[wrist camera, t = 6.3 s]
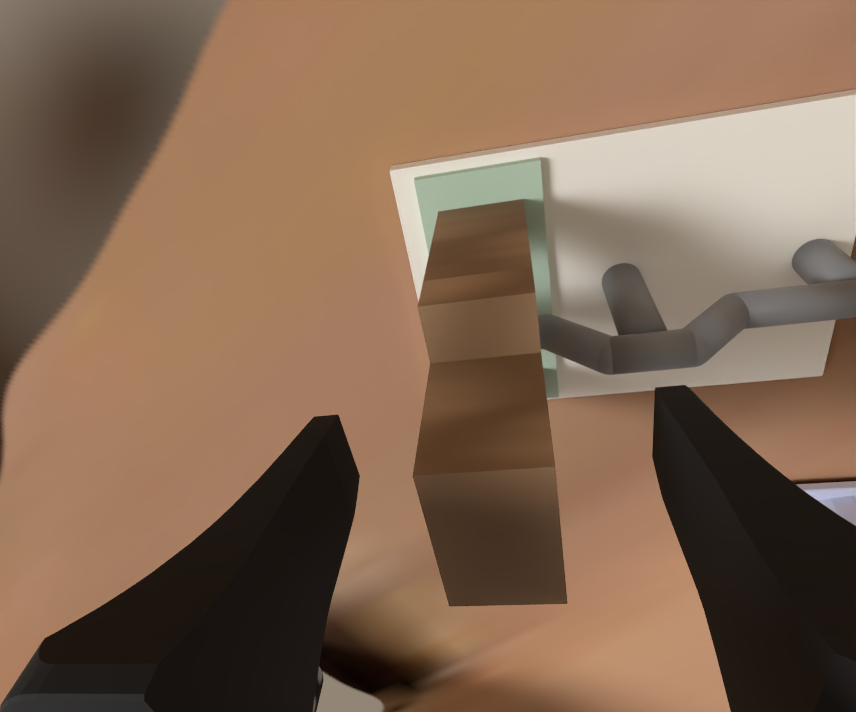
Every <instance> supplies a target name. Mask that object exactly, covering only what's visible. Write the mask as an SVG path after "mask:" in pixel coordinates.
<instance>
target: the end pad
mask: <svg viewBox="0 0 856 712" xmlns="http://www.w3.org/2000/svg"><path fill="white" fill-rule="evenodd" d="M414 184H415V189H416V194H417V199H418V204H419V209H420V214H421V219H422V224H423V229H424V234H425V239H426V244H427V249H428V254H429V252H430V247H431V243H432V238H433V234H434V229H435V224H436V220H437V215H438V211H445V210H451V209H458V208H465V207H472V206H478V205H485V204H492V203H499V202H505V201H512V200H519V199H524V206H525V214H526V222H527V230H528V238H529V245H530V253H531V261H532V269H533V277H534V285H535V292H536V303H537V314H538V315H539V314H552V302H551V289H550V276H549V263H548V250H547V237H546V224H545V211H544V199H543V186H542V173H541V160H540V157H537V158H531V159H525V160H519V161H512V162H506V163H500V164H494V165H487V166H481V167H475V168H469V169H462V170H456V171H450V172H444V173H437V174H431V175H425V176H419V177H415V178H414ZM541 355H542V364H543V372H544V380H545V388H546V396H547V398H554V397H559V393H558V380H557V367H556V354H554V353H552V352H549V351H547V350H544V349H541Z"/></svg>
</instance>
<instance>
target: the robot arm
mask: <svg viewBox="0 0 856 712" xmlns="http://www.w3.org/2000/svg"><path fill="white" fill-rule="evenodd" d="M652 457H653V461H654V465H655V470H656V474H657V478H658V482H659V486H660V490H661V494H662V498H663V501H664V503H665V506H666V509H667V512H668V514H669V517H670V520H671V522H672V525H673V528H674V530H675V533H676V535H677V538H678V541H679V543H680V546H681V548H682V551H683V554H684V556H685V559H686V562H687V564H688V567H689V569H690V572H691V575H692V577H693V580H694V582H695V585H696V588H697V590H698V593H699V596H700V599H701V602H702V605H703V608H704V611H705V615H706V618H707V622H708V626H709V629H710V633H711V637H712V640H713V644H714V648H715V652H716V655H717V659H718V663H719V667H720V671H721V675H722V678H723V682H724V686H725V690H726V694H727V698H728V702H729V706H730V710H731V712H856V481H848V482H830V483H812V484H794V483H793V482H792V481H790V480H789V479H788V478H787V477H785V476H784V475H783V474H782V473H780V472H779V471H778V470H777V469H775V468H774V467H773V466H772V465H770V464H769V463H768V462H767V461H766V460H764V459H763V458H762V457H761V456H760V455H759V454H757V453H756V452H755V451H754V450H753V449H752V448H751V447H750V446H748V445H747V444H746V443H745V442H744V441H743V440H742V439H741V438H740V437H738V436H737V435H736V434H735V433H734V432H733V431H732V430H731V429H730V428H729V427H728V426H727V425H726V424H725V423H723V422H722V421H721V420H720V419H719V418H718V417H717V416H716V415H715V414H714V413H713V412H712V411H711V410H710V409H709V408H708V407H707V406H706V405H705V404H704V403H703V402H702V401H701V400H700V399H699V398H698V397H697V396H696V394H695V393H694V392H693V391H692V390H691V389H690V388H688V387H687V386H686V385H678V386H666V387H655V403H654V429H653V455H652ZM359 477H360V475H359V472H358V470H357V467H356V464H355V461H354V458H353V455H352V453H351V450H350V447H349V444H348V441H347V438H346V435H345V433H344V430H343V427H342V424H341V421H340V418H339V416H338V415H330V416H318V417H314V418H313V419H312V420H311V421H310V422H309V423H308V424H307V425H306V426H305V427H304V429H303V430H302V431H301V432H300V433H299V434H298V435H297V437H296V438H295V439H294V440H293V441H292V442H291V444H290V445H289V446H288V447H287V448H286V449H285V450H284V452H283V453H282V454H281V455H280V456H279V457H278V458H277V459H276V460H275V462H274V463H273V464H272V465H271V466H270V467H269V468H268V469H267V470H266V472H265V473H264V474H263V475H262V476H261V477H260V478H259V479H258V480H257V481H256V482H255V483H254V484H253V485H252V486H251V487H250V488H249V489H248V490H247V491H246V492H245V493H244V494H243V496H242V497H241V498H240V499H239V500H238V501H237V502H236V503H235V504H234V505H233V506H232V507H231V508H230V509H229V510H228V511H226V512H225V513H224V514H223V515H222V516H221V517H220V518H219V519H218V520H217V521H216V522H215V523H213V524H212V525H211V526H210V527H209V528H208V529H207V530H205V531H204V532H203V533H202V534H201V535H200V536H198V537H197V538H196V539H195V540H194V541H192V542H191V543H190V544H189V545H188V546H186V547H185V548H184V549H182V550H181V551H180V552H178V553H177V554H176V555H174V556H173V557H172V558H171V559H169V560H168V561H167V562H165V563H164V564H163V565H161V566H160V567H159V568H157V569H156V570H155V571H153V572H152V573H151V574H149V575H148V576H146V577H145V578H143V579H142V580H141V581H139V582H138V583H136V584H135V585H133V586H132V587H130V588H129V589H127V590H126V591H124V592H123V593H121V594H120V595H118V596H116V597H115V598H113V599H112V600H110V601H109V602H107V603H106V604H104V605H102V606H101V607H99V608H97V609H96V610H94V611H92V612H91V613H89V614H87V615H85V616H84V617H82V618H80V619H78V620H77V621H75V622H73V623H72V624H70V625H68V626H66V627H65V628H63V629H61V630H59V631H58V632H56V633H54V634H52V635H50V636H48V637H47V638H45V639H44V640H43V642H42V643H41V645H40V646H39V648H38V649H37V651H36V652H35V654H34V655H33V657H32V658H31V660H30V661H29V663H28V664H27V666H26V667H25V669H24V670H23V672H22V673H21V675H20V676H19V678H18V679H17V681H16V683H15V684H14V686H13V687H12V689H11V690H10V692H9V693H8V695H7V696H6V698H5V699H4V701H3V702H2V704H1V707H0V712H313V705H314V698H315V691H316V684H317V677H318V670H319V663H320V657H321V651H322V645H323V639H324V633H325V627H326V621H327V616H328V612H329V608H330V603H331V599H332V595H333V592H334V588H335V585H336V581H337V577H338V574H339V570H340V567H341V563H342V559H343V556H344V552H345V548H346V545H347V541H348V537H349V534H350V530H351V526H352V522H353V518H354V514H355V508H356V501H357V493H358V485H359Z"/></svg>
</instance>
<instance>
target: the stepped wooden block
mask: <svg viewBox="0 0 856 712" xmlns="http://www.w3.org/2000/svg"><path fill="white" fill-rule="evenodd" d="M418 311H419V315H420V320H421V324H422V329H423V333H424V337H425V342H426V346H427V351H428V355H429V360H430V369H429V375H428V382H427V388H426V394H425V401H424V407H423V414H422V420H421V426H420V433H419V439H418V446H417V452H416V459H415V465H414V471H413V478H414V482H415V486H416V489H417V493H418V496H419V500H420V503H421V507H422V511H423V514H424V518H425V521H426V525H427V528H428V532H429V535H430V539H431V543H432V546H433V550H434V553H435V557H436V560H437V564H438V567H439V571H440V575H441V578H442V582H443V585H444V589H445V592H446V596H447V600H448V603H449V606H487V605H531V604H567V594H566V583H565V572H564V560H563V549H562V538H561V527H560V516H559V504H558V493H557V482H556V471H555V462H554V453H553V445H552V437H551V429H550V421H549V413H548V404H547V396H546V388H545V380H544V372H543V364H542V355H541V346H540V335H539V324H538V314H537V303H536V292H535V285H534V277H533V269H532V261H531V253H530V245H529V238H528V230H527V222H526V214H525V206H524V199H519V200H512V201H505V202H499V203H492V204H485V205H478V206H472V207H465V208H458V209H451V210H445V211H438V215H437V220H436V224H435V229H434V234H433V238H432V243H431V247H430V252H429V257H428V261H427V266H426V270H425V275H424V280H423V284H422V289H421V293H420V298H419V303H418Z"/></svg>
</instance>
